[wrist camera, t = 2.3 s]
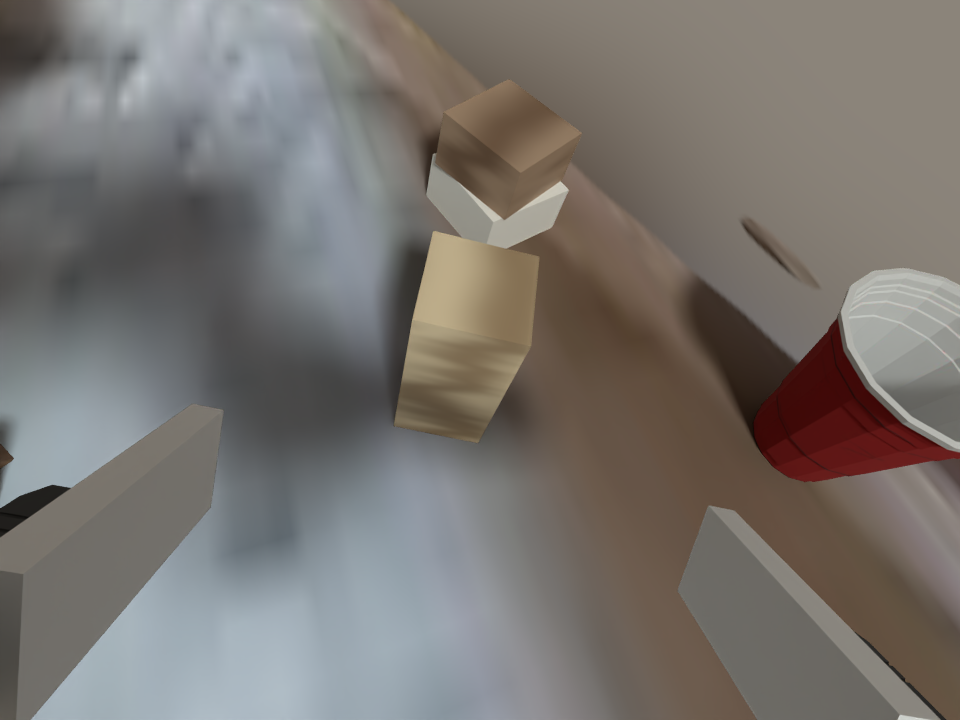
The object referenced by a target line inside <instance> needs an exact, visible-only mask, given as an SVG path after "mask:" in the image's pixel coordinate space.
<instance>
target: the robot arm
mask: <svg viewBox="0 0 960 720" xmlns="http://www.w3.org/2000/svg"><path fill="white" fill-rule="evenodd" d="M223 412H224V410H222V409H217V408H212V407H207V406H202V405H196V404H191V405H190V406H189V407H187V408H186V409H184V410H183V411H181V412H180V413H179V414H177V415H176V416H174V417H173V418H171V419H170V420H168V421H167V422H166V423H164V424H163V425H161V426H160V427H158V428H157V429H156V430H154V431H153V432H151V433H150V434H148V435H147V436H145V437H144V438H143V439H141V440H140V441H138V442H137V443H135V444H134V445H133V446H131V447H130V448H128V449H127V450H125V451H124V452H122V453H121V454H120V455H118V456H117V457H115V458H114V459H112V460H111V461H110V462H108V463H107V464H105V465H104V466H102V467H101V468H99V469H98V470H97V471H95V472H94V473H92V474H91V475H89V476H88V477H87V478H85V479H84V480H82V481H81V482H79V483H78V484H76V485H75V486H74V487H72V488H67V487H62V486H56V485H50V486H47V487H44V488H42V489H39V490H36V491H33V492H30V493H27V494H24V495H21V496H19V497H18V498H16V499H14V500H13V501H11V502H10V503H8V504H7V505H5V506H3V507H2V508H0V720H31V719H32V717H33V716H34V715H35V714H36V713H37V712H38V710H39V709H40V708H41V707H42V706H43V704H44V703H45V702H46V701H47V700H48V699H49V697H50V696H51V695H52V694H53V693H54V691H55V690H56V689H57V688H58V687H59V686H60V684H61V683H62V682H63V681H64V680H65V679H66V677H67V676H68V675H69V674H70V673H71V671H72V670H73V669H74V668H75V667H76V666H77V664H78V663H79V662H80V661H81V660H82V658H83V657H84V656H85V655H86V654H87V653H88V651H89V650H90V649H91V648H92V647H93V645H94V644H95V643H96V642H97V641H98V640H99V638H100V637H101V636H102V635H103V634H104V633H105V631H106V630H107V629H108V628H109V627H110V625H111V624H112V623H113V622H114V621H115V620H116V618H117V617H118V616H119V615H120V614H121V612H122V611H123V610H124V609H125V608H126V607H127V605H128V604H129V603H130V602H131V601H132V599H133V598H134V597H135V596H136V595H137V594H138V592H139V591H140V590H141V589H142V588H143V587H144V585H145V584H146V583H147V582H148V581H149V579H150V578H151V577H152V576H153V575H154V574H155V572H156V571H157V570H158V569H159V568H160V566H161V565H162V564H163V563H164V562H165V561H166V559H167V558H168V557H169V556H170V555H171V553H172V552H173V551H174V550H175V549H176V548H177V546H178V545H179V544H180V543H181V542H182V541H183V539H184V538H185V537H186V536H187V535H188V533H189V532H190V531H191V530H192V529H193V528H194V526H195V525H196V524H197V523H198V522H199V520H200V519H201V518H202V517H203V516H204V515H205V513H206V512H207V511H208V510H209V509H210V507H211V502H212V494H213V487H214V479H215V472H216V464H217V457H218V450H219V442H220V435H221V427H222V420H223ZM678 592H679V594H680V595H681V597H682V599H683V600H684V602H685V603H686V605H687V607H688V608H689V610H690V612H691V613H692V615H693V616H694V618H695V620H696V621H697V623H698V625H699V626H700V628H701V629H702V631H703V633H704V634H705V636H706V637H707V639H708V641H709V642H710V644H711V646H712V647H713V649H714V650H715V652H716V654H717V655H718V657H719V659H720V660H721V662H722V663H723V665H724V667H725V668H726V670H727V671H728V673H729V675H730V676H731V678H732V680H733V681H734V683H735V684H736V686H737V688H738V689H739V691H740V692H741V694H742V696H743V697H744V699H745V701H746V702H747V704H748V705H749V707H750V709H751V710H752V712H753V714H754V715H755V717H756V718H757V720H946V719H945V718H944V717H943V716H942V715H941V714H940V713H939V712H938V711H937V710H936V709H935V708H934V707H933V706H932V705H931V704H930V703H929V702H928V701H927V700H926V699H925V698H924V697H923V696H922V695H921V694H920V693H919V692H918V691H917V690H916V689H915V688H914V687H913V686H912V685H911V684H910V683H907V682H905V678H904V677H903V676H902V675H901V674H900V673H899V672H898V671H897V670H896V669H895V668H894V667H893V666H889V664H888V663H889V662H888V661H887V660H886V659H885V658H884V657H883V656H882V655H881V654H880V653H879V652H878V651H877V650H876V649H875V648H874V647H873V646H872V645H871V644H870V643H869V642H868V641H866V640H865V639H864V638H862V637H861V636H860V635H858V634H857V633H856V632H854V631H853V630H852V629H851V628H850V627H849V626H848V625H847V624H846V623H845V622H844V621H843V620H842V619H841V618H840V617H839V616H838V615H837V614H836V613H835V612H834V611H833V610H832V609H831V608H830V607H829V606H828V605H827V604H826V603H825V602H824V601H823V600H822V599H821V598H820V597H819V596H818V595H817V594H816V593H815V592H814V591H813V590H812V589H811V588H810V587H809V586H808V585H807V584H806V583H805V582H804V581H803V580H802V579H801V578H800V577H799V576H798V575H797V574H796V573H795V572H794V571H793V570H792V569H791V568H790V567H789V566H788V565H787V564H786V563H785V562H784V561H783V560H782V559H781V558H780V557H779V556H778V555H777V554H776V553H775V552H774V550H773V549H772V548H771V547H770V546H769V545H768V544H767V543H766V542H765V541H764V540H763V539H762V538H761V537H760V536H759V535H758V534H757V533H756V532H755V531H754V530H753V529H752V528H751V527H750V526H749V525H748V524H747V523H746V522H745V521H744V520H743V519H742V518H741V517H740V516H739V515H738V514H737V513H736V512H735V511H734V510H729V509H724V508H718V507H713V506H708V508H707V511H706V514H705V516H704V519H703V522H702V525H701V527H700V530H699V533H698V536H697V538H696V541H695V544H694V547H693V549H692V552H691V555H690V558H689V560H688V563H687V566H686V569H685V571H684V574H683V577H682V580H681V582H680V585H679V588H678Z"/></svg>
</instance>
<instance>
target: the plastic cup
mask: <svg viewBox="0 0 960 720" xmlns="http://www.w3.org/2000/svg"><path fill="white" fill-rule="evenodd" d="M753 424H754V437H755V439H756V442H757V444H758V446H759V448H760V450H761V453H762V454H763V455H764V456H765V458H766V459H767V460H768V461H769V462H770V463H771V465H772V466H773V467H774V468H776V469H777V470H779V471H780V472H782V473H783V474H785V475H786V476H788V477H789V478H793V479H796V480H800V481H804V482H807V481H812V482H815V481H821V480H828V479H833V478H838V477H843V476H854V475H860V474H866V473H871V472H877V471H882V470H887V469H892V468H897V467H903V466H908V465H913V464H918V463H923V462H929V461H940V460H946V459H952V458H956V459H959V458H960V285H958V284H956V283H954V282H952V281H950V280H948V279H946V278H944V277H941V276H937V275H933V274H929V273H924V272H920V271H916V270H912V269H908V268H900V269H888V270H877V271H872V272H871V273H869V274H868V275H866V276H865V277H863V278H862V279H860V280H858V281H857V282H855V283H854V284H852V285H851V286H850V288H849V289H848V291H847V293H846V296H845V299H844V301H843V304H842V307H841V309H840V312H839V314H838V316H837V319H836V320H835V321H834V322H833V324H832V325H831V326H830V327H829V330H828V332H827V333H826V334H825V335H824V336H823V337H822V338H821V339H820V340H819V342H818V343H817V344H816V345H815V346H814V347H813V348H812V349H811V351H809V353H808V354H807V355H806V356H805V357H804V358H803V359H802V360H801V361H800V362H799V363H798V364H797V366H796V367H795V368H794V369H793V370H792V371H791V372H790V373H789V374H788V375H787V376H786V378H785V379H784V380H783V381H782V383H781V385H780V386H779V387H778V388H777V389H776V390H775V392H774V393H773V394H772V395H771V396H770V397H769V398H768V399H767V400H766V401H765V402H764V403H763V404H762V405H761V408H760V409H759V410H758V412H757V415H756V417H755V420H754V422H753Z"/></svg>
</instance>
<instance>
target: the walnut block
mask: <svg viewBox="0 0 960 720" xmlns="http://www.w3.org/2000/svg"><path fill="white" fill-rule="evenodd" d="M581 135H582V133H581V132H580V131H578V130H577V129H575V128H574V127H573V126H572V125H570V124H569V123H568V122H566V121H565V120H564V119H562V118H561V117H559V116H558V115H557V114H556V113H554V112H553V111H551V110H550V109H549V108H548V107H546V106H545V105H543V104H542V103H541V102H539V101H538V100H537V99H535V98H534V97H533V96H531V95H530V94H529V93H527V92H526V91H524V90H523V89H522V88H521V87H519V86H518V85H516V84H515V83H514V82H513V81H511V80H510V79H508V80H506V81H505V82H502V83H500V84H498V85H497V86H494V87H492V88H491V89H488V90H486V91H484V92H482V93H480V94H479V95H477V96H475V97H473V98H471V99H469V100H467V101H465V102H463V103H461V104H459V105H457V106H455V107H453V108H451V109H449V110H447V111H445V112H444V113H443V119H442V125H441V131H440V136H439V142H438V148H437V154H436V160H435V164H437V165H438V166H439V167H440V168H442V169H443V170H444V171H445V172H446V173H448V174H449V175H450V176H451V177H452V178H454V179H455V180H456V181H457V182H459V183H460V184H461V185H462V186H463V187H465V188H466V189H467V190H468V191H469V192H471V193H472V194H473V195H474V196H476V197H477V198H478V199H479V200H480V201H482V202H483V203H484V204H485V205H487V206H488V207H489V208H490V209H491V210H493V211H494V212H495V213H496V214H497V215H499V216H500V217H501V218H502V219H504V220H506V219H507V218H509V217H510V216H511V215H513V214H514V213H516V212H517V211H519V210H520V209H521V208H523V207H524V206H526V205H527V204H529V203H530V202H531V201H533V200H534V199H536V198H537V197H539V196H540V195H541V194H543V193H544V192H546V191H547V190H549V189H550V188H551V187H553V186H554V185H556V184H557V183H559V182H560V181H562V179H563V177H564V174H565V172H566V170H567V167H568V165H569V163H570V160H571V158H572V155H573V153H574V151H575V149H576V146H577V144H578V142H579V139H580V137H581Z"/></svg>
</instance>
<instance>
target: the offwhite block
mask: <svg viewBox="0 0 960 720" xmlns="http://www.w3.org/2000/svg"><path fill="white" fill-rule="evenodd" d="M436 154H437V153H434V154H433V157H432V163H431V169H430V175H429V182H428V188H427V194H426V196H427V197H428V198H429V199H430V200H431V201H432V203H433V204H434V205H435V206H436V207H437V209H438V210H439V211H440V212H441V213H442V214H443V216H444V217H445V218H446V219H447V220H448V221H449V223H450V224H451V225H452V226H453V227H454V228H455V230H456V231H457V232H458V233H459V234H460V235H461V237H462V238H464V239H468V240H473V241H477V242H481V243H485V244H489V245H493V246H497V247H501V248H505V249H506V248H508V247H510V246H513V245H515V244H517V243H519V242H521V241H523V240H526V239H528V238H530V237H532V236H534V235H536V234H539V233H541V232H543V231H545V230H547V229H549V228H552V226H553V224H554V222H555V220H556V217H557V215H558V213H559V211H560V208H561V206H562V204H563V202H564V200H565V197H566V195H567V193H568V191H569V190H568V189H567V188H566V187H565V186H564V185H563V184H562V183H561V181H560V182H559V183H557V184H556V185H554V186H553V187H551V188H550V189H549V190H547V191H546V192H544V193H543V194H541V195H540V196H539V197H537V198H536V199H534V200H533V201H531V202H530V203H529V204H527V205H526V206H524V207H523V208H521V209H520V210H519V211H517V212H516V213H514V214H513V215H511V216H510V217H509V218H507V219H506V220H504V219H502V218H501V217H500V216H499V215H497V214H496V213H495V212H494V211H493V210H491V209H490V208H489V207H488V206H487V205H485V204H484V203H483V202H482V201H480V200H479V199H478V198H477V197H476V196H474V195H473V194H472V193H471V192H469V191H468V190H467V189H466V188H465V187H463V186H462V185H461V184H460V183H459V182H457V181H456V180H455V179H454V178H452V177H451V176H450V175H449V174H448V173H446V172H445V171H444V170H443V169H442V168H440V167H439V166H438V165H437V164H435V160H436Z"/></svg>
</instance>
